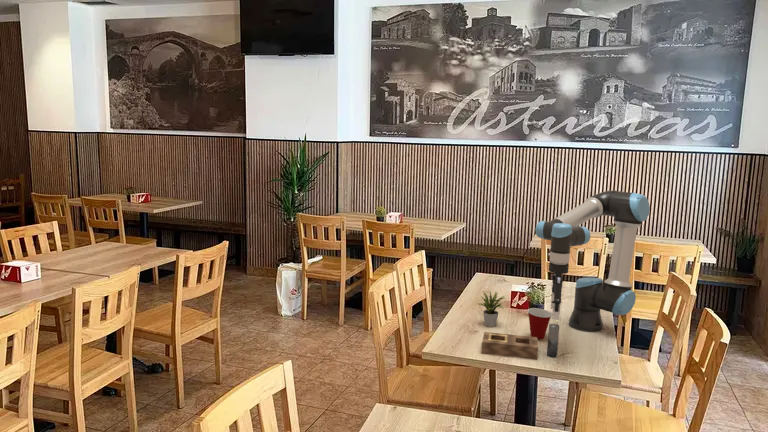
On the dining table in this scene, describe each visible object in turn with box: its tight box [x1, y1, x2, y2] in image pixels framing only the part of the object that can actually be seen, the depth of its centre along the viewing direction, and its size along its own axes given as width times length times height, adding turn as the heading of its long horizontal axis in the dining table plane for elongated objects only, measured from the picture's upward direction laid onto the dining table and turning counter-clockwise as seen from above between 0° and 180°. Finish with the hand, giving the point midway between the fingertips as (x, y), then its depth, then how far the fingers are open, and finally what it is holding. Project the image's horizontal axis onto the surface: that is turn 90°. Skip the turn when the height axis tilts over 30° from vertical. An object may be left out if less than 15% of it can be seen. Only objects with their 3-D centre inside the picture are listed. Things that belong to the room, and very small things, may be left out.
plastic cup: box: [527, 307, 552, 341], centre depth 265 cm, size 11×11×12 cm
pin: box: [546, 323, 560, 359], centre depth 244 cm, size 4×4×13 cm
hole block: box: [481, 331, 539, 360], centre depth 249 cm, size 22×12×5 cm, turn 77°
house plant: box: [477, 291, 508, 328], centre depth 278 cm, size 14×14×16 cm
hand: (554, 313), depth 242 cm, fingers open, 13 cm apart
